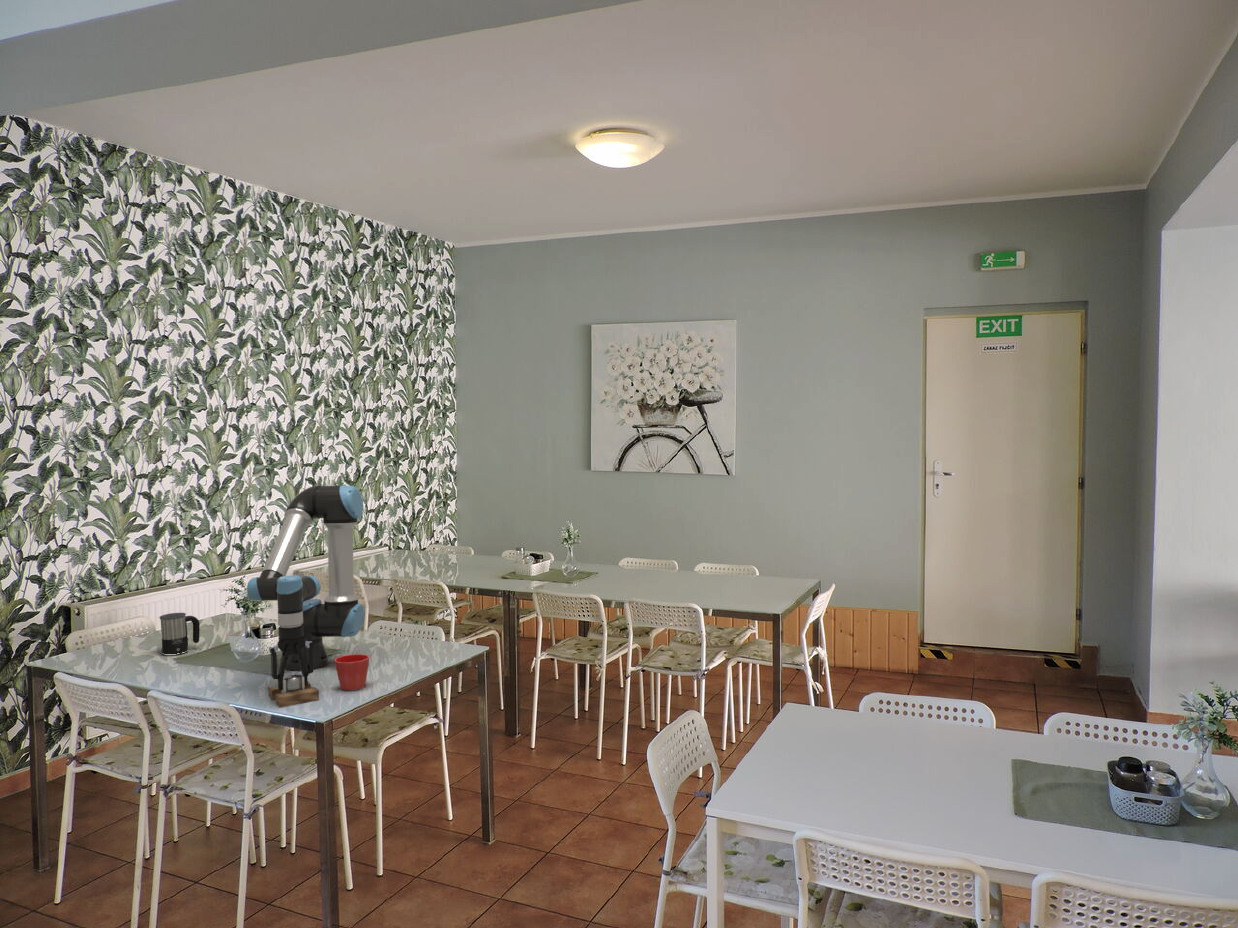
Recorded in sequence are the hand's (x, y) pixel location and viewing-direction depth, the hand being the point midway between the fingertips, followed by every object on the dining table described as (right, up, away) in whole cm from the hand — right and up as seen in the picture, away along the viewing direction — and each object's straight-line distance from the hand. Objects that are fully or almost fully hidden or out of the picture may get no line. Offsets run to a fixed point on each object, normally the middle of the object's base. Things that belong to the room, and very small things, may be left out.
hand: (293, 697), depth 282 cm
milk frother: (-69, +1, +63) cm, 93 cm away
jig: (0, 0, 0) cm, 1 cm away
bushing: (0, 0, 0) cm, 0 cm away
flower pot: (+16, 0, +11) cm, 19 cm away
